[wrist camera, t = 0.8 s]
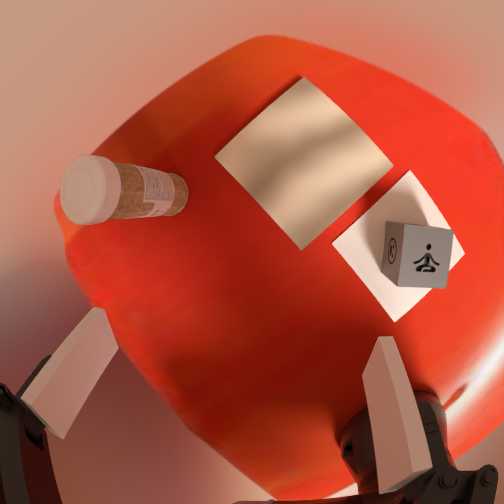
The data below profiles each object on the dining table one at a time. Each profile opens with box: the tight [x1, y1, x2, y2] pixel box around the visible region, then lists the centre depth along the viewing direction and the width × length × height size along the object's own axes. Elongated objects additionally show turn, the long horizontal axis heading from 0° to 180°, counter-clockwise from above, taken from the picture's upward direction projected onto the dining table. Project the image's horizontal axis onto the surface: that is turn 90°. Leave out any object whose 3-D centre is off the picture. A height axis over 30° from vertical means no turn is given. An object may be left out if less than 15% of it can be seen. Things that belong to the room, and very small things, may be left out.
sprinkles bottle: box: [60, 155, 189, 225], centre depth 20 cm, size 5×5×14 cm
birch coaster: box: [215, 77, 393, 251], centre depth 24 cm, size 12×12×1 cm
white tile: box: [331, 170, 465, 323], centre depth 23 cm, size 11×11×1 cm
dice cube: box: [381, 221, 454, 288], centre depth 21 cm, size 5×5×5 cm
